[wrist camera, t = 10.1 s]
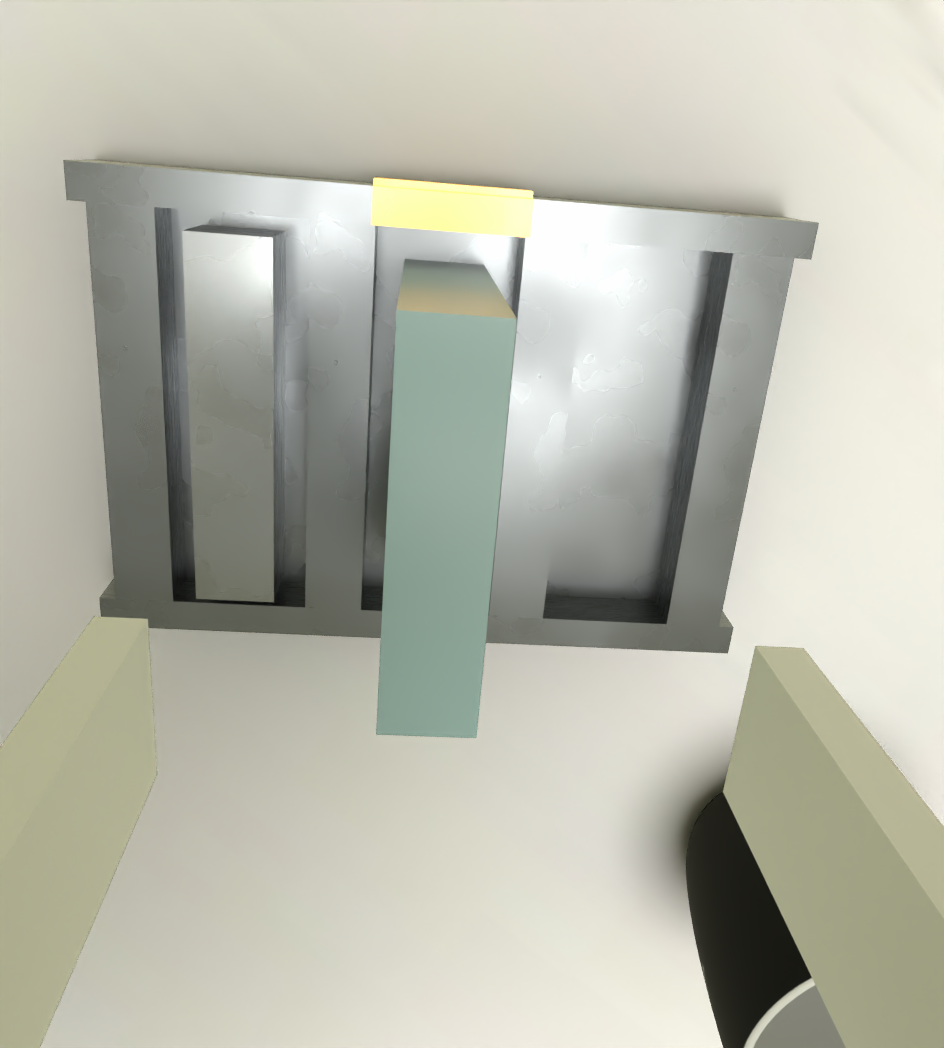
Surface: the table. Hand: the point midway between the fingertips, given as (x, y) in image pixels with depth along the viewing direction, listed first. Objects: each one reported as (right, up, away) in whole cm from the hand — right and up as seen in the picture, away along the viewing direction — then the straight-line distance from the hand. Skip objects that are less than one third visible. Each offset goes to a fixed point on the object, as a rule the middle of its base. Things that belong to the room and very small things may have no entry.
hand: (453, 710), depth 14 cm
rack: (-1, +7, +16) cm, 17 cm away
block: (-1, +6, +15) cm, 16 cm away
